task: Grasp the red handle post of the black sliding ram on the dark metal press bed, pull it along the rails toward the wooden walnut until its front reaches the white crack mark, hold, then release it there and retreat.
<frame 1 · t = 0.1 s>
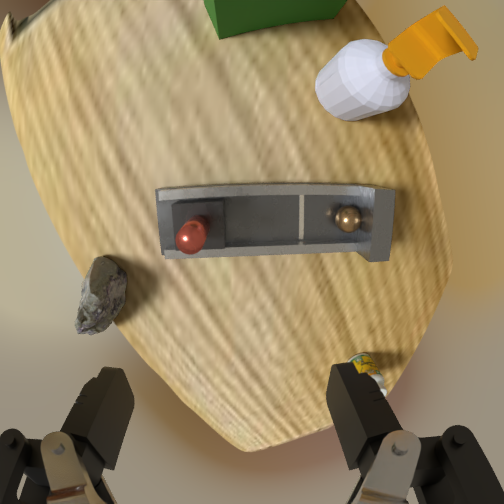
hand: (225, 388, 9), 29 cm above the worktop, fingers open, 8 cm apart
ram: (196, 229, 31), point 7 cm above the worktop, slide at 0.0 cm
supplement bottle: (357, 362, 47), on the worktop
soap bottle: (344, 92, 32), on the worktop
hardback book: (270, 8, 28), on the worktop
press bed: (270, 215, 37), on the worktop
mineral rock: (102, 291, 40), on the worktop
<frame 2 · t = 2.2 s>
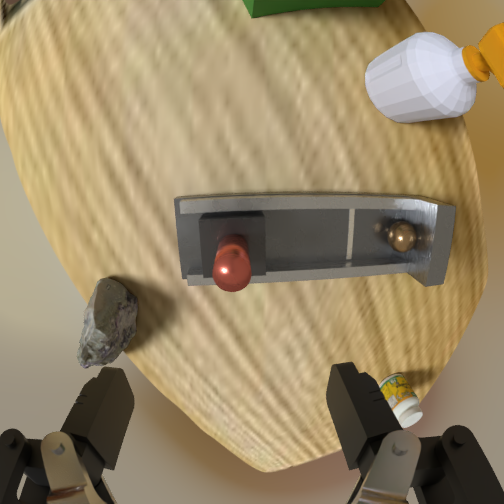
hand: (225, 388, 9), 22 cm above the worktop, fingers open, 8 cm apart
ram: (232, 253, 24), point 7 cm above the worktop, slide at 0.0 cm
supplement bottle: (389, 382, 41), on the worktop
soap bottle: (394, 89, 26), on the worktop
press bed: (313, 231, 31), on the worktop
mineral rock: (108, 317, 33), on the worktop
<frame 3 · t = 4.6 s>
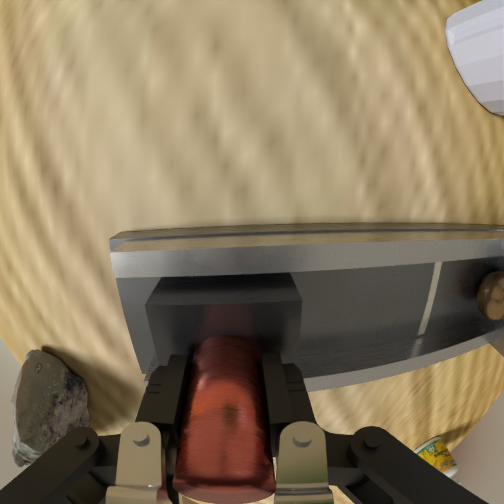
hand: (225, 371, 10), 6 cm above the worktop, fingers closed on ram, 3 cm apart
ram: (226, 381, 10), point 7 cm above the worktop, slide at 0.0 cm, touching gripper
supplement bottle: (424, 446, 26), on the worktop
soap bottle: (479, 63, 11), on the worktop
press bed: (372, 292, 16), on the worktop
mineral rock: (55, 391, 19), on the worktop
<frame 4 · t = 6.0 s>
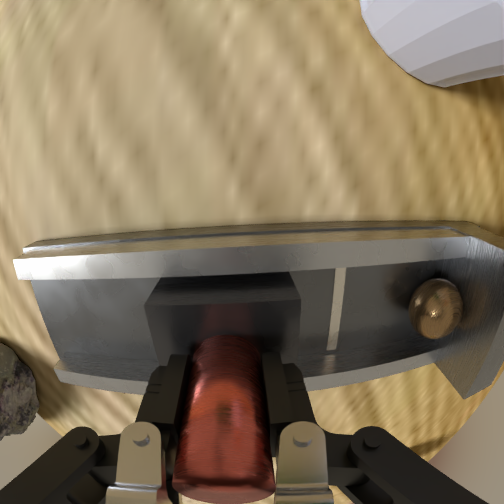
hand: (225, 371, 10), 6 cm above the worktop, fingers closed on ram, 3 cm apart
ram: (225, 381, 10), point 7 cm above the worktop, slide at 7.0 cm, touching gripper
soap bottle: (414, 30, 11), on the worktop
press bed: (263, 300, 16), on the worktop
mineral rock: (14, 380, 19), on the worktop
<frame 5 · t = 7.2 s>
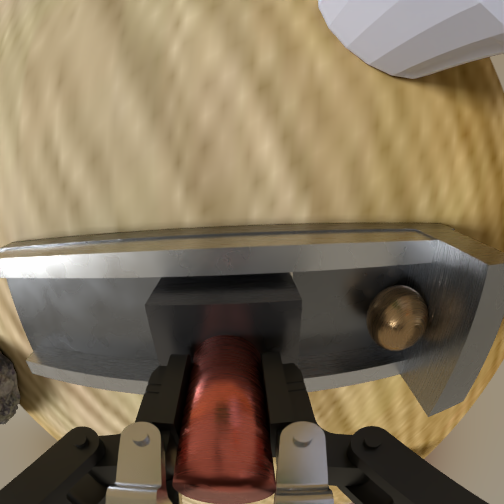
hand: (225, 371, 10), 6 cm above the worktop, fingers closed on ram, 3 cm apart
ram: (226, 381, 10), point 7 cm above the worktop, slide at 10.0 cm, touching gripper
soap bottle: (381, 21, 11), on the worktop
press bed: (213, 303, 16), on the worktop
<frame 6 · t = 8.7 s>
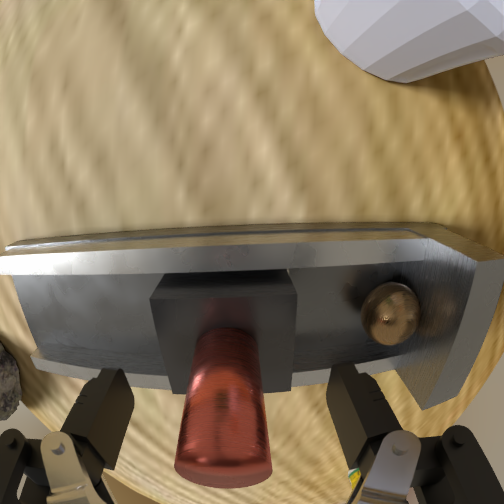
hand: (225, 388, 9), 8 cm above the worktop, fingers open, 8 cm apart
ram: (225, 371, 10), point 7 cm above the worktop, slide at 10.0 cm
supplement bottle: (365, 464, 26), on the worktop
soap bottle: (376, 26, 12), on the worktop
press bed: (213, 299, 17), on the worktop
mineral rock: (1, 369, 19), on the worktop
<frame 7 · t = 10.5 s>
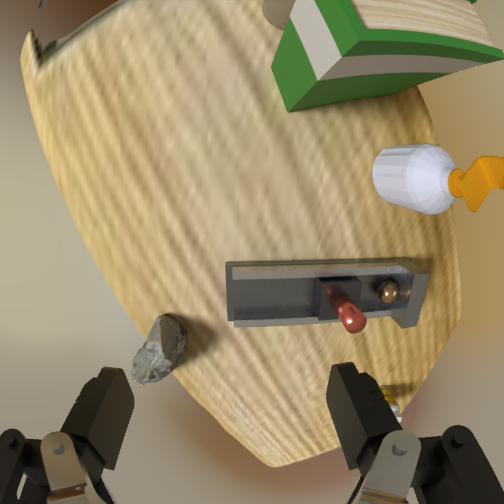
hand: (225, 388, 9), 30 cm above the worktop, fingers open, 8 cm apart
ram: (343, 306, 36), point 7 cm above the worktop, slide at 10.0 cm
supplement bottle: (377, 393, 51), on the worktop
soap bottle: (394, 174, 37), on the worktop
hardback book: (335, 79, 33), on the worktop
press bed: (323, 287, 42), on the worktop
mineral rock: (157, 342, 44), on the worktop
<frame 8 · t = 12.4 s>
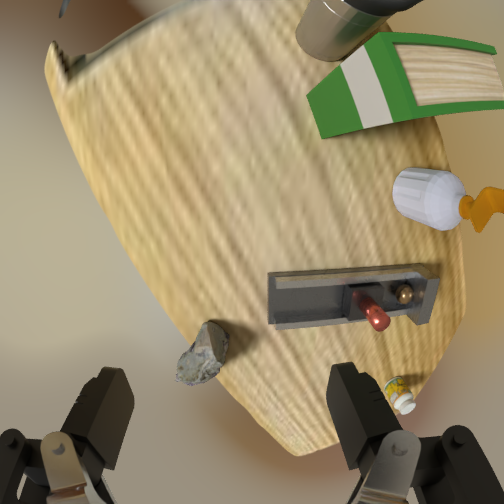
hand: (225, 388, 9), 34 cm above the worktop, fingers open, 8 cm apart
ram: (369, 308, 41), point 7 cm above the worktop, slide at 10.0 cm
supplement bottle: (392, 383, 56), on the worktop
soap bottle: (410, 192, 42), on the worktop
hardback book: (362, 106, 37), on the worktop
press bed: (350, 291, 47), on the worktop
mineral rock: (200, 346, 49), on the worktop
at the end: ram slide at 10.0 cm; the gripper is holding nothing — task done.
